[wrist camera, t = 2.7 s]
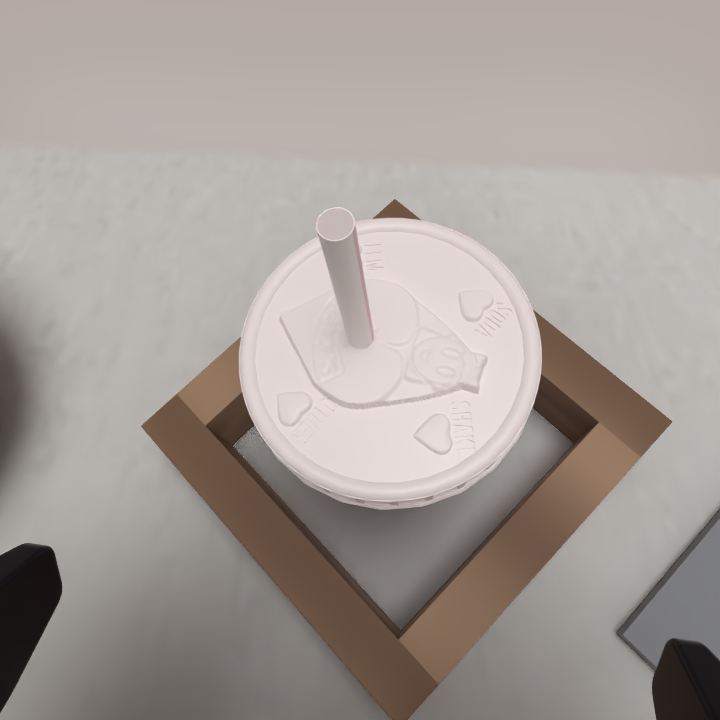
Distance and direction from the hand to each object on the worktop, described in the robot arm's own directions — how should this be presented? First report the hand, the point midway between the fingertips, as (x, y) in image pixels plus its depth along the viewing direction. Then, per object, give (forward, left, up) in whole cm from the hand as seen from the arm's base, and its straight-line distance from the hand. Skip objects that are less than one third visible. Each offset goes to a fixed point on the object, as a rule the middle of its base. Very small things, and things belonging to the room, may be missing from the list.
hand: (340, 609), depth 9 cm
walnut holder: (+4, +3, -12) cm, 13 cm away
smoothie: (+4, +3, -12) cm, 13 cm away
